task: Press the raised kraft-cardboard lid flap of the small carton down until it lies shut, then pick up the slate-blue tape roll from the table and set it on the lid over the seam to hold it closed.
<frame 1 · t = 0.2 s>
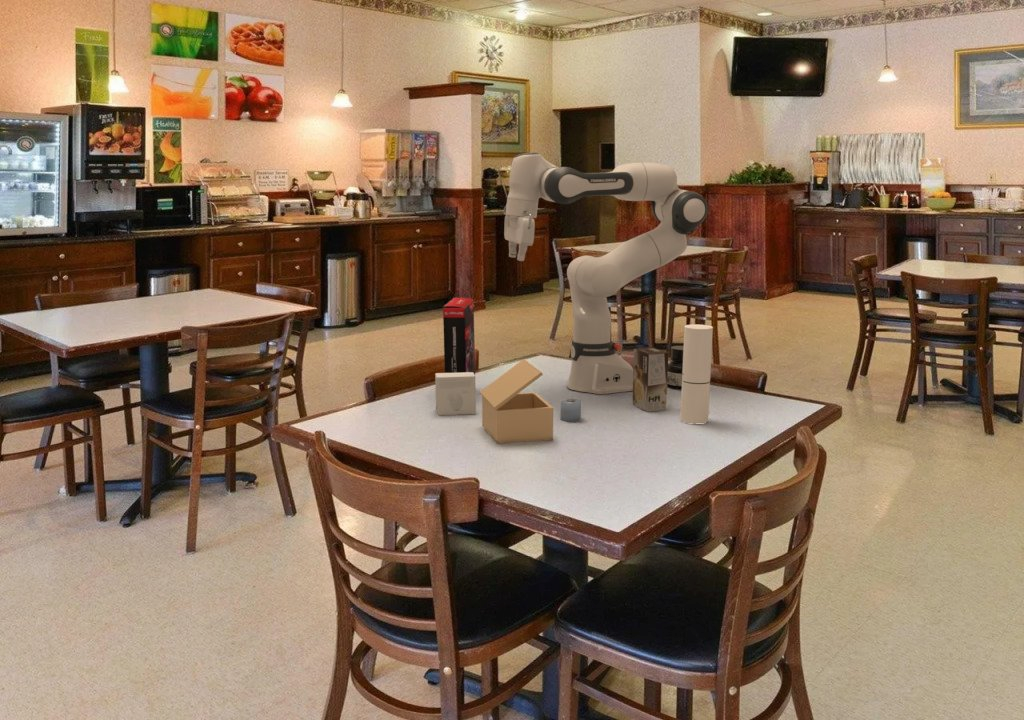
hand: (516, 259, 267), 39 cm above the table, tool pointing down, fingers open, 8 cm apart
lid flap: (510, 383, 230), point 13 cm above the table, hinge at 35.0°
skincare box: (455, 412, 252), on the table
carton: (516, 432, 233), on the table
ink bottle: (680, 387, 283), on the table
cylindrical container: (694, 421, 245), on the table
tape roll: (570, 419, 246), on the table
graphics card box: (459, 395, 271), on the table
coffee box: (648, 408, 259), on the table
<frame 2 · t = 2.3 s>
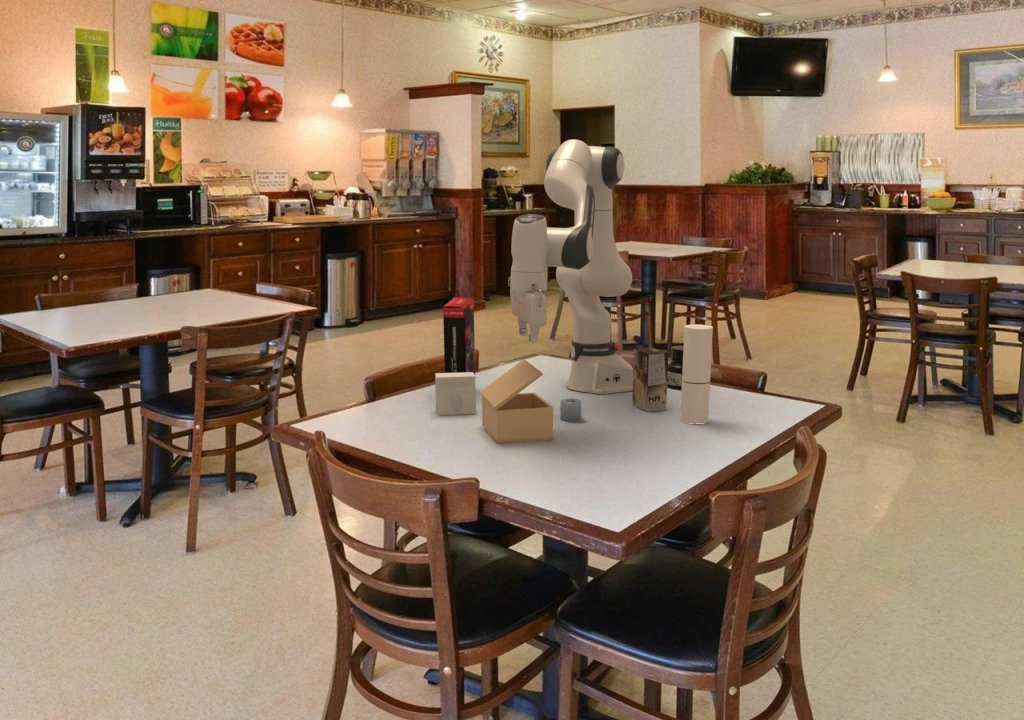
hand: (528, 338, 229), 24 cm above the table, tool pointing down, fingers open, 8 cm apart
nothing on the table moved.
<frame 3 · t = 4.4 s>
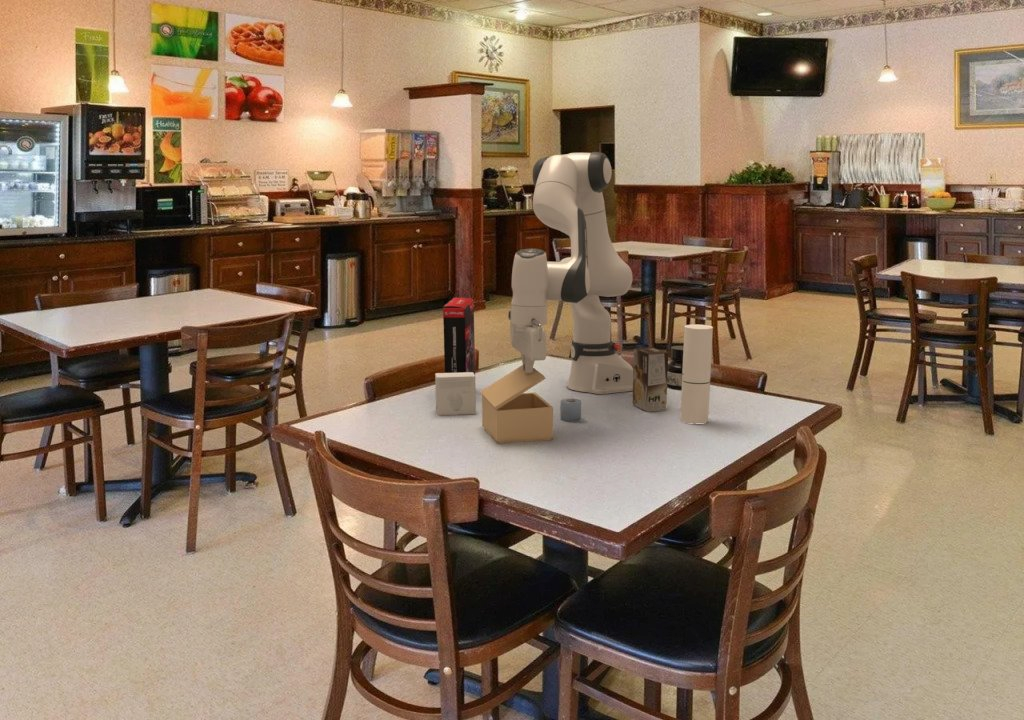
hand: (527, 372, 230), 15 cm above the table, tool pointing down, fingers closed, pressing on lid flap
lid flap: (511, 385, 230), point 12 cm above the table, hinge at 30.1°, touching gripper
everything else where it was.
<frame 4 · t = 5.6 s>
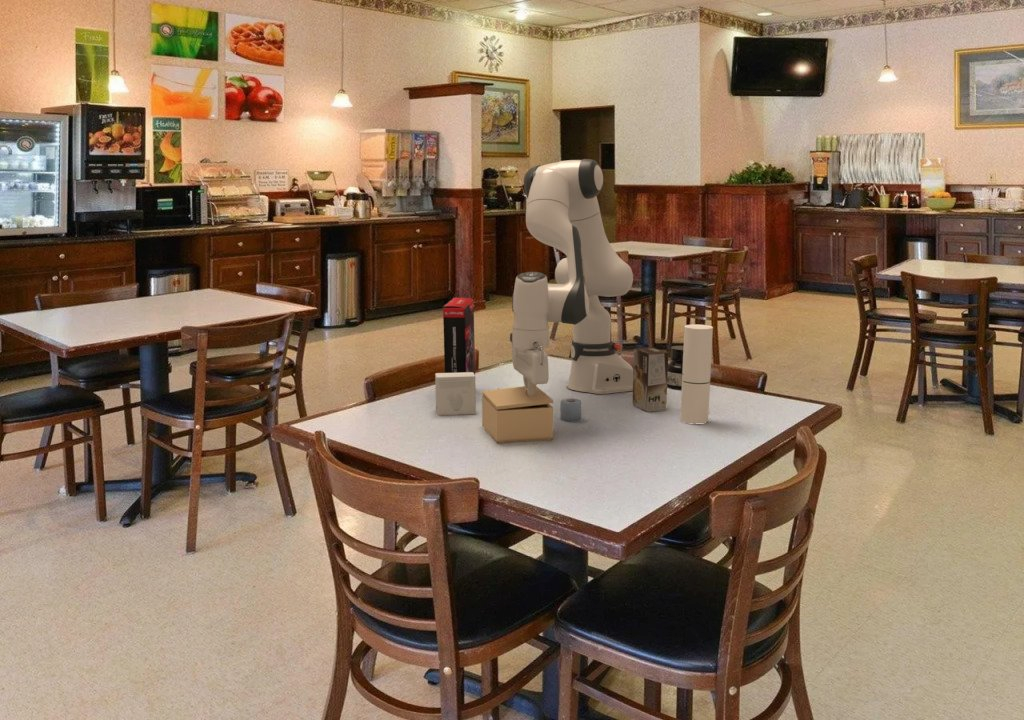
hand: (529, 394, 231), 10 cm above the table, tool pointing down, fingers closed, pressing on lid flap
lid flap: (516, 396, 231), point 9 cm above the table, hinge at 3.4°, touching gripper
everything else where it was.
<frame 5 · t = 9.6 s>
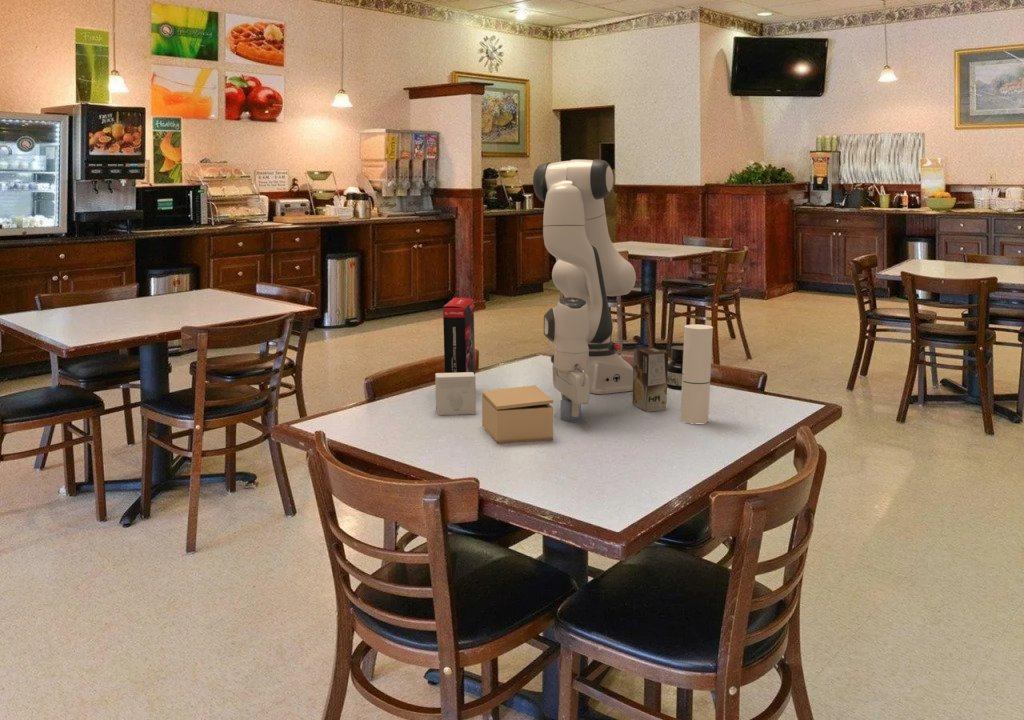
hand: (570, 412, 245), 2 cm above the table, tool pointing down, fingers closed on tape roll, 5 cm apart
lid flap: (516, 396, 231), point 9 cm above the table, hinge at 3.3°
tape roll: (570, 419, 246), on the table, touching gripper
everything else where it was.
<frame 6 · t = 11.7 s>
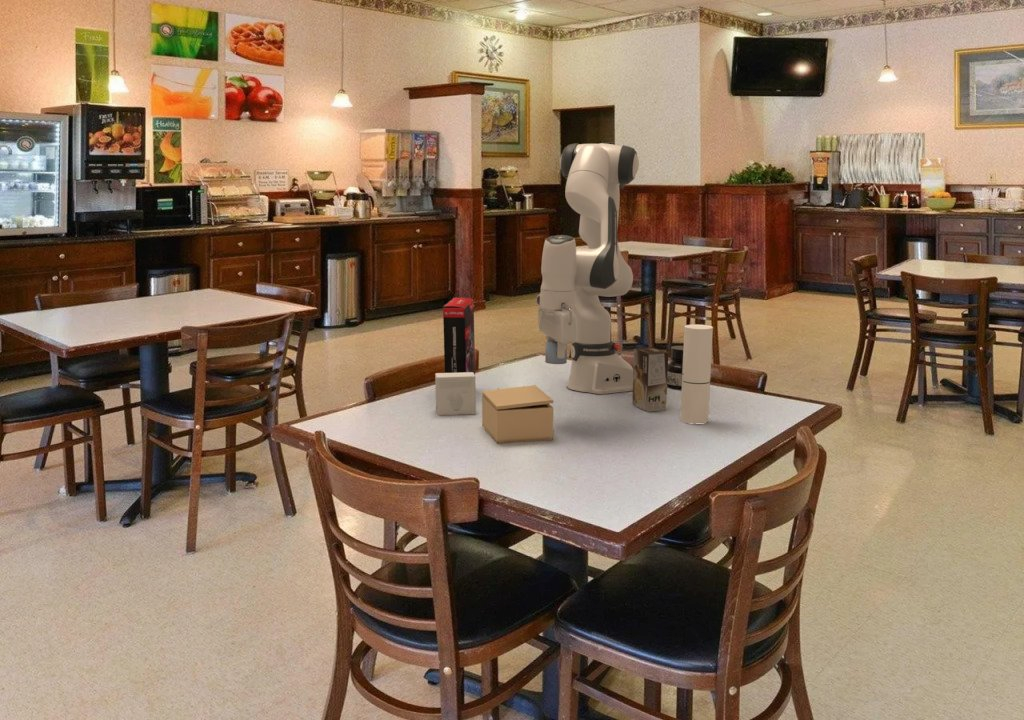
hand: (556, 355, 236), 18 cm above the table, tool pointing down, fingers closed on tape roll, 5 cm apart
tape roll: (555, 362, 237), point 16 cm above the table, touching gripper
everything else where it was.
when the fingers open (12 cm above the table, at t = 13.7 s): tape roll stays where it is, resting on lid flap.
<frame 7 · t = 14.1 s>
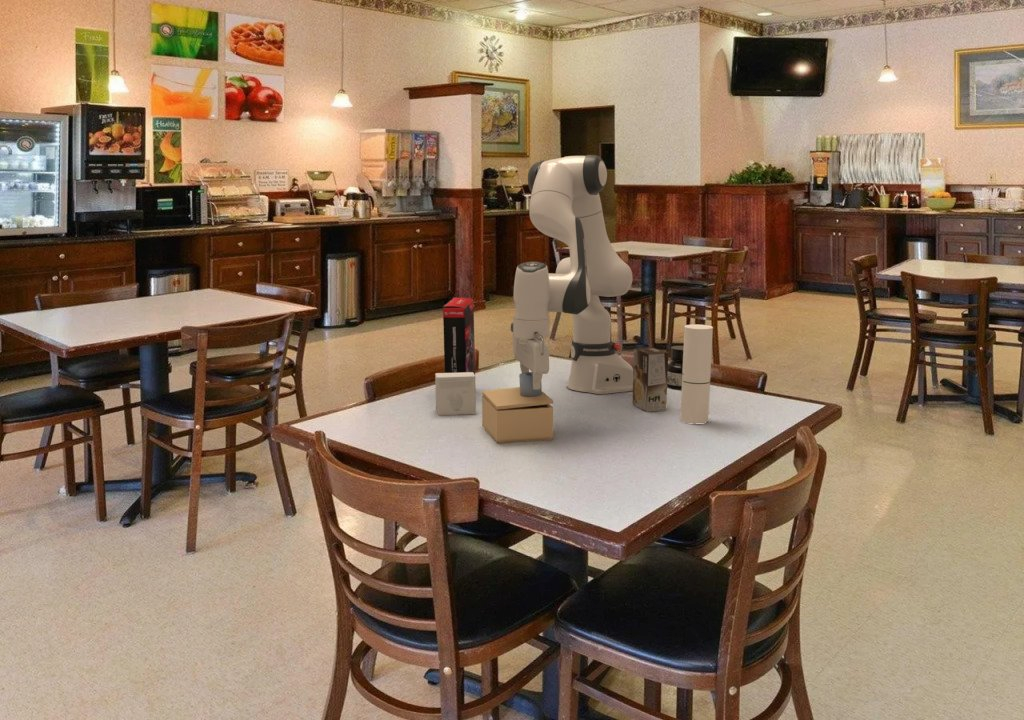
hand: (530, 384, 231), 12 cm above the table, tool pointing down, fingers open, 8 cm apart
lid flap: (516, 397, 231), point 9 cm above the table, hinge at 2.9°, touching tape roll
tape roll: (530, 394, 232), point 10 cm above the table, touching lid flap
everything else where it was.
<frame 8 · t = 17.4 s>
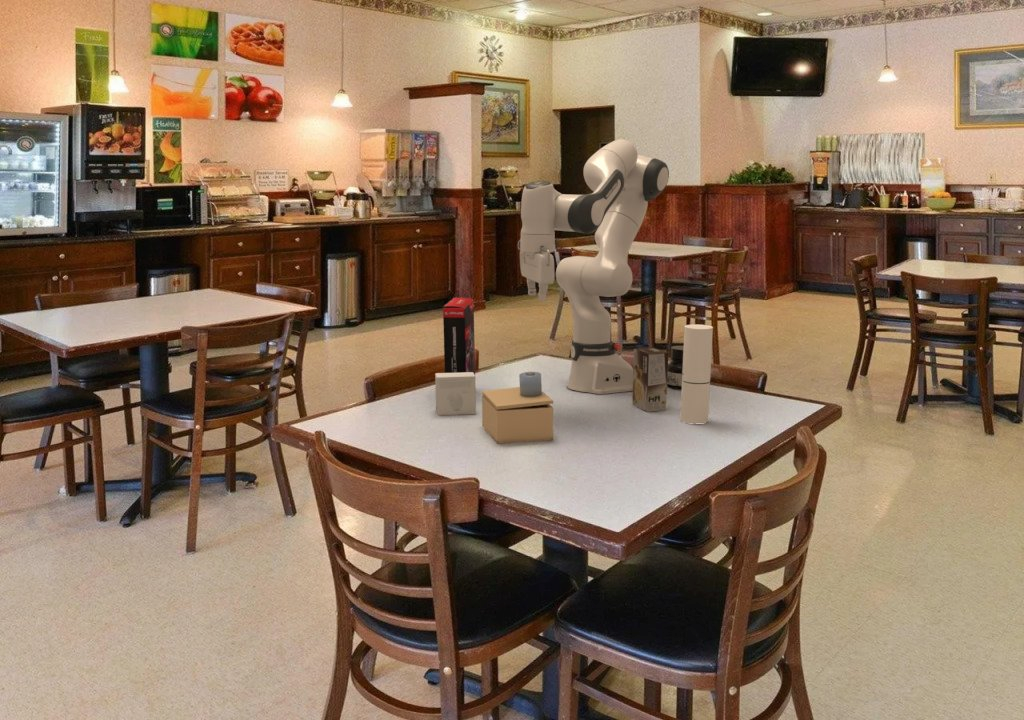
hand: (536, 297, 246), 31 cm above the table, tool pointing down, fingers open, 8 cm apart
nothing on the table moved.
at the end: lid flap at +3° (first picture: +35°); tape roll inside the target area on the carton (0.9 cm from its centre), point 9.7 cm above the carton's base; the gripper is holding nothing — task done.
